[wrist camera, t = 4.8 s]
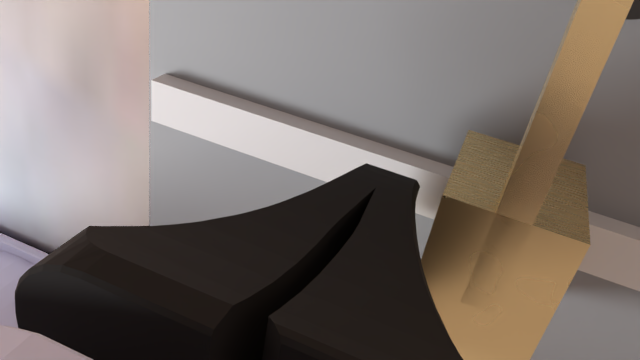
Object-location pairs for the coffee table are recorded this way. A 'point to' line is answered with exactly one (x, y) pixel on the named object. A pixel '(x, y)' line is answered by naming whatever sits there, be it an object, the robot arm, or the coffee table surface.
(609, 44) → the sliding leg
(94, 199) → the coffee table surface
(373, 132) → the pitch plate
